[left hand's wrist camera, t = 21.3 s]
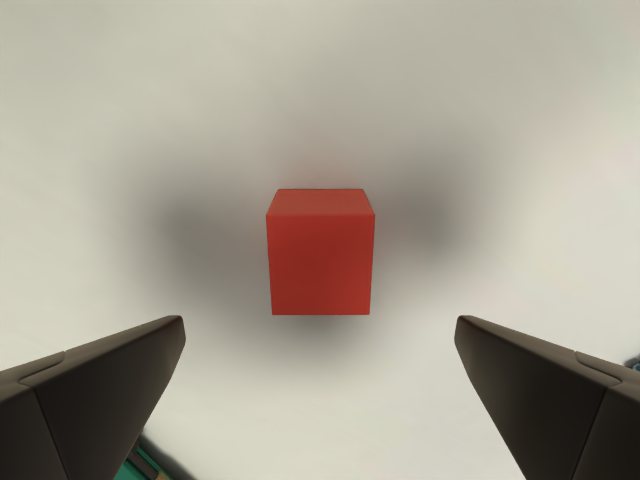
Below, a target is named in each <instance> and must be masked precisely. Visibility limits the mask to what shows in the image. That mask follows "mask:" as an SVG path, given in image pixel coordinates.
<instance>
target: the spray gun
mask: <svg viewBox="0 0 640 480" xmlns="http://www.w3.org/2000/svg"><path fill="white" fill-rule="evenodd" d="M139 444H140V443H139V442H138V441H137V440H136V441H135V443H134V445H133V447H132V448H131V450H130V452H129V454H128V455H127V457H126V459H125V461H124V463H123V464H122V466H121V468H120V470H119V471H118V473H117V475H116V477H115V478H114V480H173V479H172V478H171V477H170V476H168V475H167V474H166V473H165V472H164V471H163V470H162V469H161V468H160V467H159V466H158V465H157V464H156V463H155V462H154V461H153V460H152V459H151V458H150V457H149V456H148V455H147V454H146V453H145V452H144V451H143V450H142V449H141V448H139V447H138V446H139Z"/></svg>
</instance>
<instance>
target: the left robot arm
mask: <svg viewBox="0 0 640 480" xmlns="http://www.w3.org/2000/svg"><path fill="white" fill-rule="evenodd" d="M185 341H186V336H185V330H184V324H183V319H182V317H181V316H179V315H170V316H166V317H163V318H160V319H157V320H154V321H151V322H148V323H145V324H142V325H140V326H137V327H134V328H131V329H128V330H125V331H122V332H119V333H116V334H113V335H110V336H107V337H104V338H101V339H98V340H96V341H93V342H90V343H87V344H84V345H81V346H78V347H75V348H72V349H69V350H66V352H64V351H62V352H59V353H56V354H53V355H50V356H47V357H44V358H41V359H38V360H35V361H32V362H29V363H26V364H22V365H19V366H16V367H13V368H10V369H6V370H3V371H0V480H114V478H115V477H116V475H117V473H118V471H119V470H120V468H121V466H122V464H123V463H124V461H125V459H126V457H127V455H128V454H129V452H130V450H131V448H132V447H133V445H134V443H135V441H136V440H137V438H138V436H139V434H140V433H141V431H142V429H143V427H144V425H145V424H146V422H147V420H148V418H149V417H150V415H151V413H152V411H153V410H154V408H155V406H156V404H157V403H158V401H159V399H160V397H161V395H162V394H163V392H164V390H165V388H166V387H167V385H168V383H169V381H170V379H171V377H172V375H173V372H174V370H175V368H176V365H177V363H178V360H179V358H180V355H181V353H182V351H183V348H184V346H185ZM454 341H455V346H456V348H457V351H458V353H459V355H460V358H461V360H462V363H463V365H464V368H465V370H466V372H467V375H468V377H469V379H470V381H471V383H472V385H473V387H474V388H475V390H476V392H477V394H478V395H479V397H480V399H481V401H482V403H483V404H484V406H485V408H486V410H487V411H488V413H489V415H490V417H491V418H492V420H493V422H494V424H495V425H496V427H497V429H498V431H499V433H500V434H501V436H502V438H503V440H504V441H505V443H506V445H507V447H508V448H509V450H510V452H511V454H512V455H513V457H514V459H515V461H516V463H517V464H518V466H519V468H520V470H521V471H522V473H523V475H524V477H525V478H526V480H640V371H637V370H634V369H630V368H627V367H624V366H621V365H618V364H614V363H611V362H608V361H605V360H602V359H599V358H596V357H593V356H590V355H587V354H584V353H581V352H578V351H576V352H575V351H574V350H571V349H568V348H565V347H562V346H559V345H556V344H553V343H550V342H547V341H544V340H542V339H539V338H536V337H533V336H530V335H527V334H524V333H521V332H518V331H515V330H512V329H509V328H506V327H503V326H500V325H498V324H495V323H492V322H489V321H486V320H483V319H480V318H477V317H474V316H470V315H461V316H459V317H458V319H457V324H456V330H455V336H454Z"/></svg>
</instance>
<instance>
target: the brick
mask: <svg viewBox="0 0 640 480" xmlns="http://www.w3.org/2000/svg"><path fill="white" fill-rule="evenodd" d="M266 223H267V239H268V256H269V272H270V289H271V305H272V315H369V313H370V296H371V278H372V261H373V243H374V225H375V214H374V212H373V210H372V208H371V206H370V203H369V201H368V199H367V197H366V195H365V193H364V191H363V189H279V190H277V193H276V195H275V197H274V199H273V201H272V204H271V206H270V208H269V210H268V212H267V214H266Z"/></svg>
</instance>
